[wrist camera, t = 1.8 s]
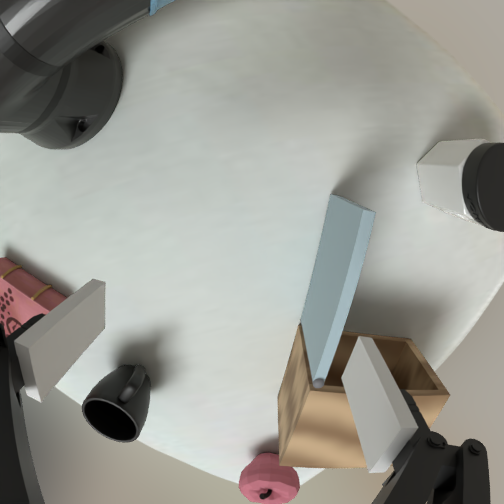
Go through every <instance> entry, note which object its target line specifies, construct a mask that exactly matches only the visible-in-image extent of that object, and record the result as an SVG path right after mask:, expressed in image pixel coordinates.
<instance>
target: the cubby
mask: <svg viewBox="0 0 504 504" xmlns="http://www.w3.org/2000/svg"><path fill="white" fill-rule="evenodd" d="M359 336H363V337H370V338H372V339H373V341H374V343H375V344H376V346H377V348H378V350H379V352H380V354H381V355H382V357H383V359H384V361H385V363H386V365H387V367H388V369H389V370H390V372H391V374H392V376H393V378H394V380H395V382H396V384H397V386H398V388H399V389H404V390H406V391H407V392H408V393H409V394H410V395H411V396H412V397H413V399H414V401H415V402H416V406H418V408H419V410H420V411H419V412H421V414H422V416H423V418H424V419H425V421H426V423H427V425H428V427H429V428H430V427H431V425H432V424H433V422H434V421H435V419H436V418H437V416H438V415H439V413H440V411H441V410H442V408H443V406H444V405H445V403H446V401H447V400H448V398H449V396H450V394H449V392H448V391H447V389H446V388H445V386H444V385H443V384H442V382H441V381H440V379H439V378H438V376H437V375H436V373H435V372H434V370H433V369H432V368H431V366H430V365H429V363H428V362H427V361H426V359H425V358H424V356H423V355H422V354H421V352H420V351H419V349H418V348H417V347H416V345H415V344H414V343H413V341H412V340H411V339H408V338H398V337H388V336H379V335H370V334H362V333H354V332H346V331H342V334H341V337H340V340H339V343H338V346H337V349H336V352H335V355H334V357H333V360H332V363H331V366H330V368H329V371H328V374H327V376H326V379H325V382H324V386H323V387H321V388H315V387H314V386H313V382H312V377H311V371H310V366H309V361H308V355H307V350H306V345H305V340H304V335H303V330H302V325H298V329H297V332H296V336H295V339H294V343H293V347H292V350H291V354H290V357H289V361H288V364H287V367H286V371H285V374H284V378H283V381H282V384H281V387H280V391H279V394H278V430H279V466H290V467H307V468H367V465H366V461H365V457H364V454H363V450H362V447H361V443H360V439H359V436H358V432H357V429H356V425H355V422H354V419H353V415H352V412H351V408H350V405H349V402H348V398H347V395H346V392H345V389H344V385H343V382H342V379H341V377H342V375H343V373H344V370H345V368H346V366H347V363H348V361H349V359H350V356H351V354H352V351H353V349H354V347H355V344H356V342H357V339H358V337H359ZM390 466H393V464H391V465H390Z"/></svg>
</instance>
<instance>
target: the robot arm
mask: <svg viewBox="0 0 504 504" xmlns="http://www.w3.org/2000/svg"><path fill="white" fill-rule="evenodd" d="M173 1H175V0H0V133H19V134H21V135H23V136H24V137H26V138H27V139H29V140H31V141H32V142H34V143H36V144H37V145H39V146H41V147H44V148H48V149H71V148H74V147H77V146H80V145H82V144H83V143H85V142H87V141H88V140H90V139H91V138H92V137H94V136H95V135H96V134H97V133H98V132H99V131H100V130H101V129H102V127H103V126H104V125H105V124H106V122H107V121H108V119H109V118H110V116H111V114H112V113H113V111H114V109H115V106H116V104H117V101H118V98H119V95H120V91H121V86H122V68H121V63H120V60H119V57H118V55H117V53H116V52H115V50H114V49H113V48H112V47H111V46H110V45H109V44H107V43H106V42H104V41H103V40H104V39H106V38H108V37H109V36H111V35H113V34H114V33H116V32H118V31H120V30H121V29H123V28H125V27H127V26H129V25H130V24H132V23H134V22H136V21H138V20H140V19H142V18H144V17H146V16H148V15H150V16H151V15H153V14H155V13H156V11H157V10H158V9H160V8H162V7H164V6H165V5H167V4H169V3H171V2H173ZM104 329H105V282H103V281H99V280H96V279H92V280H91V281H89V282H88V283H87V284H85V285H84V286H83V287H81V288H80V289H79V290H77V291H76V292H75V293H73V294H72V295H71V296H69V297H68V298H67V299H66V300H64V301H63V302H62V303H60V304H59V305H58V306H56V307H55V308H54V309H53V310H51V311H50V312H49V313H48V314H46V315H45V314H43V313H41V314H39V315H36V316H33V317H32V318H30V319H29V320H28V321H26V323H24V324H23V325H21V327H19V328H18V329H16V330H15V331H14V332H13V333H11V334H10V335H9V336H8V337H6V334H5V329H4V326H3V325H2V324H1V323H0V504H45V502H44V499H43V496H42V494H41V490H40V486H39V483H38V480H37V476H36V472H35V468H34V464H33V460H32V456H31V451H30V446H29V442H28V436H27V431H26V426H25V419H24V413H23V406H22V398H21V394H20V389H21V388H22V387H23V386H25V389H26V392H27V395H28V396H30V397H31V398H34V399H35V400H37V401H39V402H42V401H43V400H44V399H45V397H46V396H47V395H48V394H49V392H50V391H51V390H52V389H53V388H54V386H55V385H56V384H57V383H58V382H59V380H60V379H61V378H62V377H63V376H64V375H65V373H66V372H67V371H68V370H69V369H70V367H71V366H72V365H73V364H74V363H75V362H76V360H77V359H78V358H79V357H80V356H81V355H82V354H83V352H84V351H85V350H86V349H87V348H88V347H89V345H90V344H91V343H92V342H93V341H94V340H95V339H96V338H97V336H98V335H99V334H100V333H101V332H102V331H103V330H104ZM341 379H342V382H343V385H344V389H345V392H346V395H347V398H348V402H349V405H350V408H351V412H352V415H353V419H354V422H355V425H356V429H357V432H358V436H359V439H360V443H361V447H362V450H363V454H364V457H365V461H366V465H367V468H368V472H369V473H376V472H385V471H386V470H387V469H388V468H389V466H390V465H391V464H393V467H394V471H393V473H392V474H391V475H390V476H389V477H388V478H387V480H386V481H385V482H384V483H383V484H382V485H383V488H382V489H381V491H380V492H379V494H378V495H377V497H376V498H375V500H374V501H373V502H372V504H426V502H427V504H490V482H489V469H488V459H487V451H486V448H485V446H484V445H483V444H482V443H481V442H480V441H478V440H475V439H468V440H466V441H465V442H464V443H463V444H462V445H461V446H460V447H458V446H453V445H448V444H447V441H446V439H445V438H444V437H443V436H441V435H440V434H439V433H436V432H433V431H430V429H429V427H428V425H427V423H426V421H425V419H424V418H423V416H422V414H421V412H419V411H420V410H419V408H418V406H416V402H415V401H414V399H413V397H412V396H411V395H410V394H409V393H408V392H407V391H406V390H404V389H399V388H398V386H397V384H396V382H395V380H394V378H393V376H392V374H391V372H390V370H389V369H388V367H387V365H386V363H385V361H384V359H383V357H382V355H381V354H380V352H379V350H378V348H377V346H376V344H375V343H374V341H373V339H372V338H370V337H363V336H359V337H358V339H357V342H356V344H355V347H354V349H353V351H352V354H351V356H350V359H349V361H348V363H347V366H346V368H345V370H344V373H343V375H342V377H341Z"/></svg>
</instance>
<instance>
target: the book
mask: <svg viewBox="0 0 504 504" xmlns="http://www.w3.org/2000/svg"><path fill="white" fill-rule="evenodd" d="M66 299H67V297H65V296H64V295H62V294H60V293H59V292H57V291H56V290H54V289H52V285H46V284H44V283H43V282H41V281H40V280H38V279H37V278H35V277H34V276H32V275H31V274H29V273H28V272H26V271H25V270H23V269H22V266H21V265H16V264H14V263H13V262H12V261H10V260H9V259H7V258H6V257H4V258H0V323H1V324H2V325H3V326H4V329H5V334H6V337H8V336H9V335H10V334H11V333H13V332H14V331H15V330H16V329H18V328H19V327H21V325H23V324H24V323H26V321H28V320H29V319H30V318H32V317H33V316H36V315H39V314H41V313H43V314H45V315H46V314H48V313H49V312H50V311H51V310H53V309H54V308H55V307H56V306H58V305H59V304H60V303H62V302H63V301H64V300H66Z"/></svg>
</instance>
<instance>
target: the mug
mask: <svg viewBox="0 0 504 504" xmlns="http://www.w3.org/2000/svg"><path fill="white" fill-rule="evenodd" d="M145 373H146V370H145V368H144V367H143V366H141V365H137V366H136V367H135V366H132V365H123V366H120V367H119V368H118V369H116V370H115V371H113V372H111V373H110V374H108V375H107V376H105V377H104V378H103V379H102V380H101V381H99V382H98V384H97V385H96V386H95V387H94V388H93V389H92V390H91V392H90V393H89V394H88V396H87V397H86V399H85V400H84V402H83V404H82V412H83V415H84V417H85V419H86V421H87V422H88V423H89V425H90V426H91V427H92V428H93V429H95V430H96V431H97V432H98V433H100V434H101V435H103V436H105V437H106V438H109V439H111V440H114V441H118V442H132V441H134V440H136V439H137V438H138V436H139V435H140V432H141V430H142V428H143V425H144V423H145V421H146V417H147V414H148V408H149V402H150V387H151V383H150V380H149V378H148V376H147V375H146V374H145Z"/></svg>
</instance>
